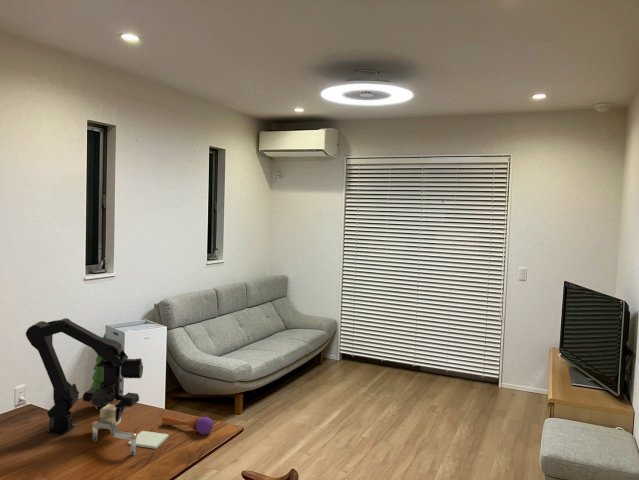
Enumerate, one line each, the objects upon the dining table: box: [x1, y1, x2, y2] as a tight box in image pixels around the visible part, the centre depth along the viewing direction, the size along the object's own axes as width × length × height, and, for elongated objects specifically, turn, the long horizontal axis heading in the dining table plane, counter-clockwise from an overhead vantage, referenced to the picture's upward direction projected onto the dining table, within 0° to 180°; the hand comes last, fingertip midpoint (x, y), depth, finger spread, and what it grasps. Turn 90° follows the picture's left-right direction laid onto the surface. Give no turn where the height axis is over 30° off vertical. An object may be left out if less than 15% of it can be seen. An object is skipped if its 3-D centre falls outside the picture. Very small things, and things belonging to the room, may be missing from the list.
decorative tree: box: [89, 333, 111, 410], centre depth 199 cm, size 10×9×30 cm
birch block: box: [99, 403, 122, 426], centre depth 181 cm, size 5×5×6 cm
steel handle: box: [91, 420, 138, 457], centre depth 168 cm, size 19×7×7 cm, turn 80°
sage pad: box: [127, 430, 169, 450], centre depth 174 cm, size 10×9×1 cm
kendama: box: [161, 415, 214, 435], centre depth 184 cm, size 6×6×20 cm
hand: (110, 420), depth 181 cm, fingers closed on birch block, 5 cm apart
